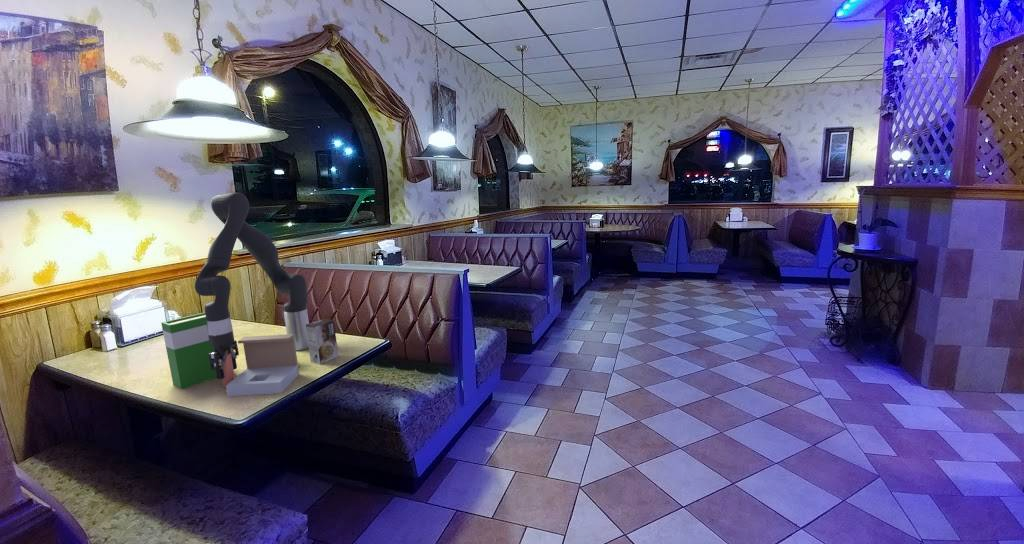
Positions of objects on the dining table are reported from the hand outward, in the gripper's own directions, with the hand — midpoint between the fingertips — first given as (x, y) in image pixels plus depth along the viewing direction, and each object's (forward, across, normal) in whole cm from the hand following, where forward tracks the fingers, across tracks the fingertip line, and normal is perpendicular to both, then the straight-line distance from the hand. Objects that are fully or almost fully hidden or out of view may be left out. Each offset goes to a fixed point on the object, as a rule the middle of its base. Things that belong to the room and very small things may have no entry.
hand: (227, 373), depth 167 cm
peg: (+5, 0, 0) cm, 5 cm away
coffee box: (+5, -21, +27) cm, 35 cm away
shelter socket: (+5, +1, +13) cm, 14 cm away
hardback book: (+5, -9, -14) cm, 17 cm away
